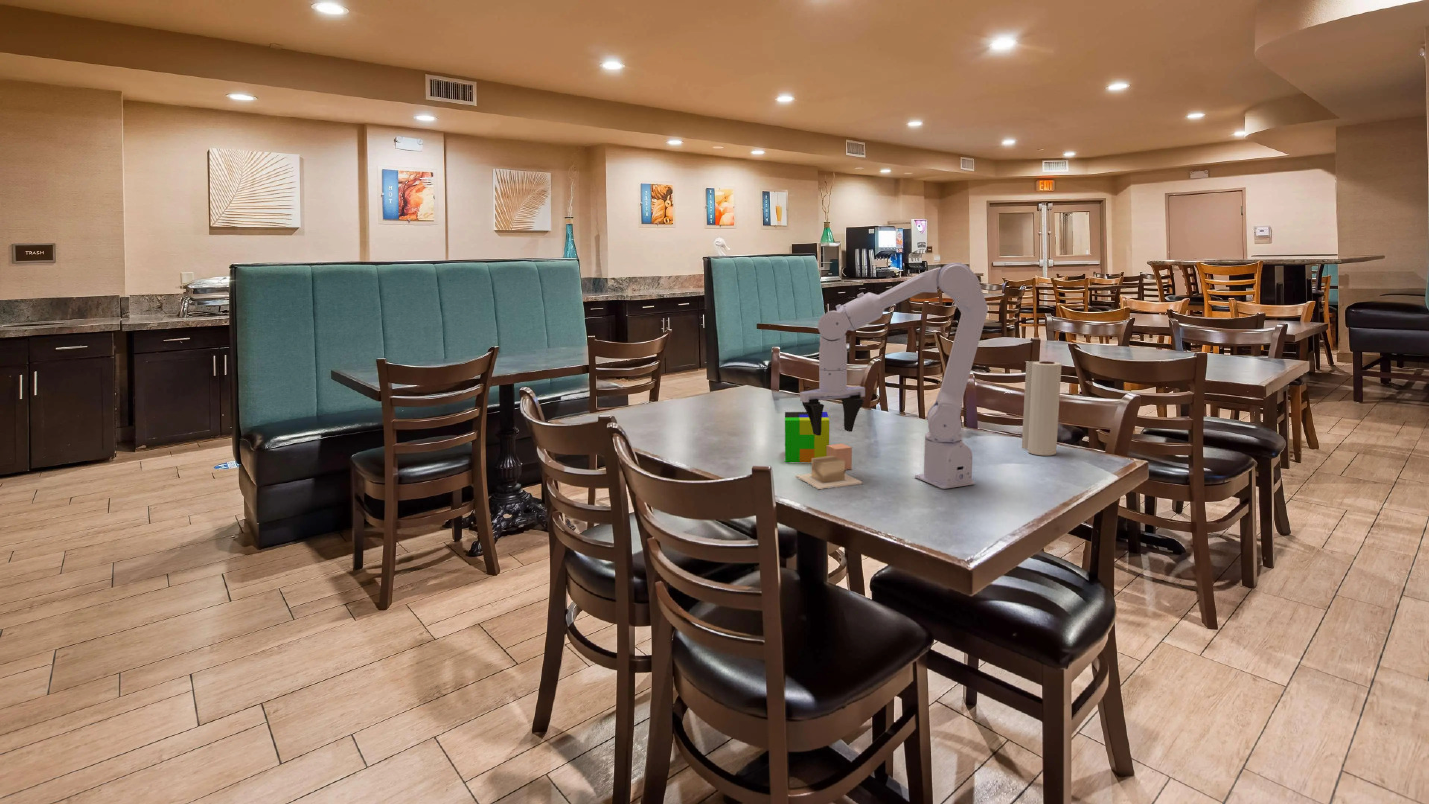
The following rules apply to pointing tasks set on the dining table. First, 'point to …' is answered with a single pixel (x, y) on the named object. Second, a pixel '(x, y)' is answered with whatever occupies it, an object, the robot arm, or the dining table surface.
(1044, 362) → the paper towel roll
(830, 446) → the terracotta block
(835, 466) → the maple block
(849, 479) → the square frame
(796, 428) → the puzzle toy
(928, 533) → the dining table surface
